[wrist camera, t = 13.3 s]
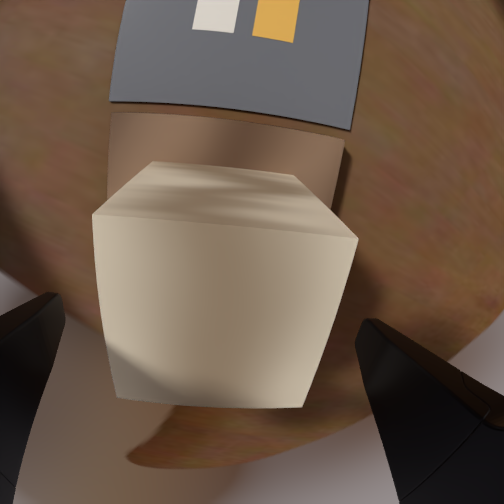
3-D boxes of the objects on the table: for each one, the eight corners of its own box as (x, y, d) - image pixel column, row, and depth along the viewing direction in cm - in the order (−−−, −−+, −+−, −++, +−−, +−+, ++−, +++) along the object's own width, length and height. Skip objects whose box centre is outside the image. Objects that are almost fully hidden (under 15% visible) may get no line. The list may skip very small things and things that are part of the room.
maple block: (293, 175, 14) (358, 238, 7) (271, 295, 16) (301, 407, 10) (152, 161, 13) (92, 214, 6) (149, 285, 15) (116, 397, 9)
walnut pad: (337, 137, 14) (345, 140, 13) (295, 318, 18) (299, 328, 17) (118, 112, 12) (111, 112, 12) (117, 303, 17) (112, 313, 16)
